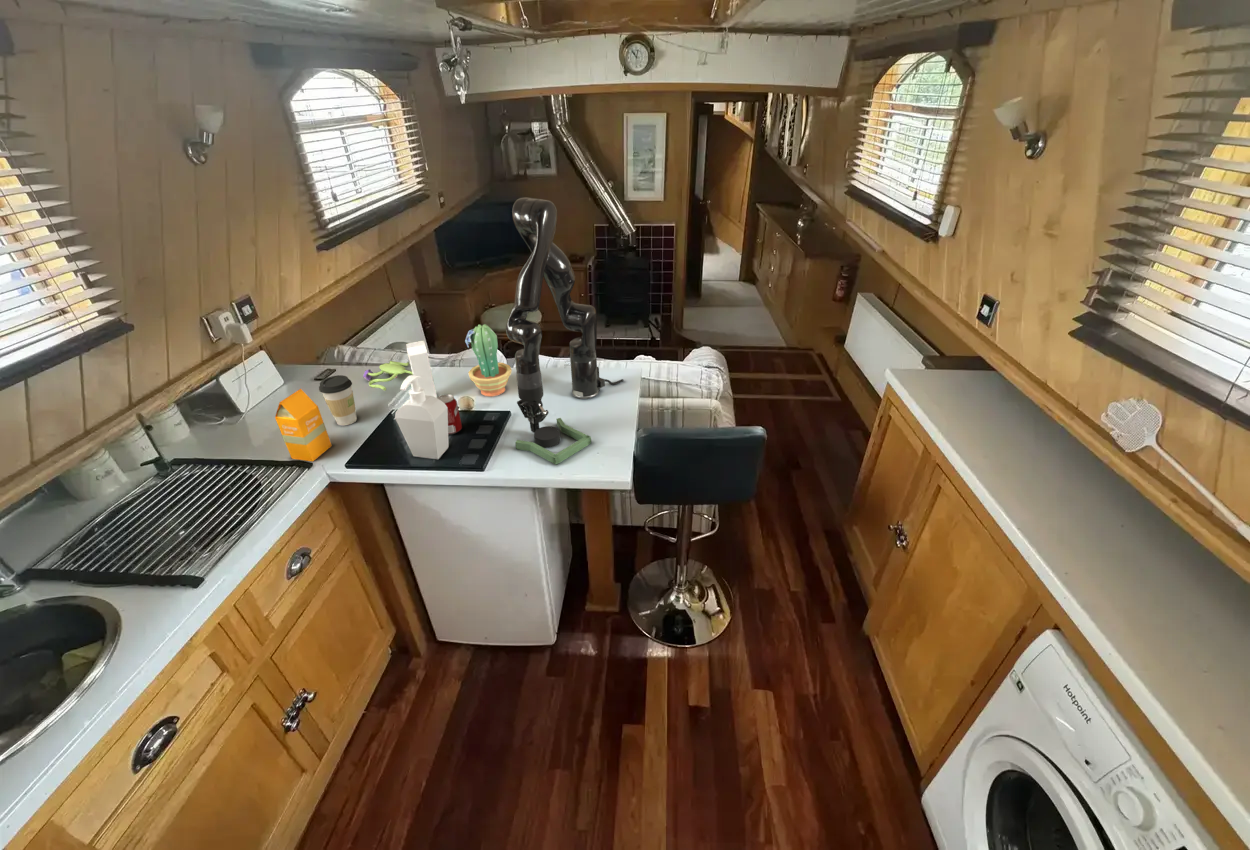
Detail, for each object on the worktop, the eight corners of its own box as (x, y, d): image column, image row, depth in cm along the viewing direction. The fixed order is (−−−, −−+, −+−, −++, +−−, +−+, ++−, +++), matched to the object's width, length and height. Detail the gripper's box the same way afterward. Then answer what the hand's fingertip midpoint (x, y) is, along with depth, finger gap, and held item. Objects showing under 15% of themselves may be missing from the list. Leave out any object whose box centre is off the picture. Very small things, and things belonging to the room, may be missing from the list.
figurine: (375, 401, 198) (371, 388, 195) (359, 374, 217) (355, 361, 214) (427, 387, 206) (423, 374, 203) (407, 362, 225) (404, 350, 222)
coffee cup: (369, 416, 189) (357, 377, 181) (345, 430, 181) (332, 390, 173) (348, 411, 192) (335, 372, 185) (324, 424, 185) (310, 384, 177)
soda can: (456, 437, 177) (449, 404, 171) (437, 435, 178) (429, 402, 172) (465, 426, 183) (459, 394, 176) (447, 424, 184) (440, 392, 177)
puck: (548, 431, 179) (547, 423, 177) (565, 439, 174) (564, 431, 173) (529, 441, 174) (528, 433, 172) (546, 450, 169) (545, 442, 168)
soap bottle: (402, 460, 166) (381, 384, 153) (419, 442, 175) (401, 368, 161) (439, 465, 164) (421, 387, 150) (455, 446, 172) (439, 371, 159)
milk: (418, 397, 200) (404, 340, 189) (435, 393, 202) (422, 337, 191) (420, 404, 195) (406, 346, 184) (438, 400, 198) (425, 343, 186)
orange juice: (332, 445, 174) (312, 389, 163) (312, 461, 167) (290, 403, 156) (310, 442, 175) (289, 387, 165) (290, 458, 168) (267, 401, 158)
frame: (559, 423, 183) (559, 417, 182) (595, 440, 174) (595, 434, 173) (515, 448, 171) (514, 441, 170) (550, 468, 162) (550, 461, 160)
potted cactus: (488, 378, 212) (478, 316, 199) (522, 385, 207) (514, 321, 194) (462, 395, 201) (450, 331, 187) (497, 404, 195) (487, 337, 182)
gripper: (553, 385, 166) (557, 433, 175) (525, 372, 174) (530, 419, 183) (534, 394, 161) (539, 443, 171) (506, 380, 169) (512, 428, 178)
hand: (535, 431), depth 177 cm, fingers closed
